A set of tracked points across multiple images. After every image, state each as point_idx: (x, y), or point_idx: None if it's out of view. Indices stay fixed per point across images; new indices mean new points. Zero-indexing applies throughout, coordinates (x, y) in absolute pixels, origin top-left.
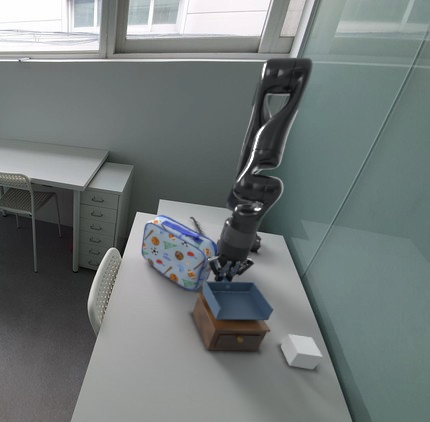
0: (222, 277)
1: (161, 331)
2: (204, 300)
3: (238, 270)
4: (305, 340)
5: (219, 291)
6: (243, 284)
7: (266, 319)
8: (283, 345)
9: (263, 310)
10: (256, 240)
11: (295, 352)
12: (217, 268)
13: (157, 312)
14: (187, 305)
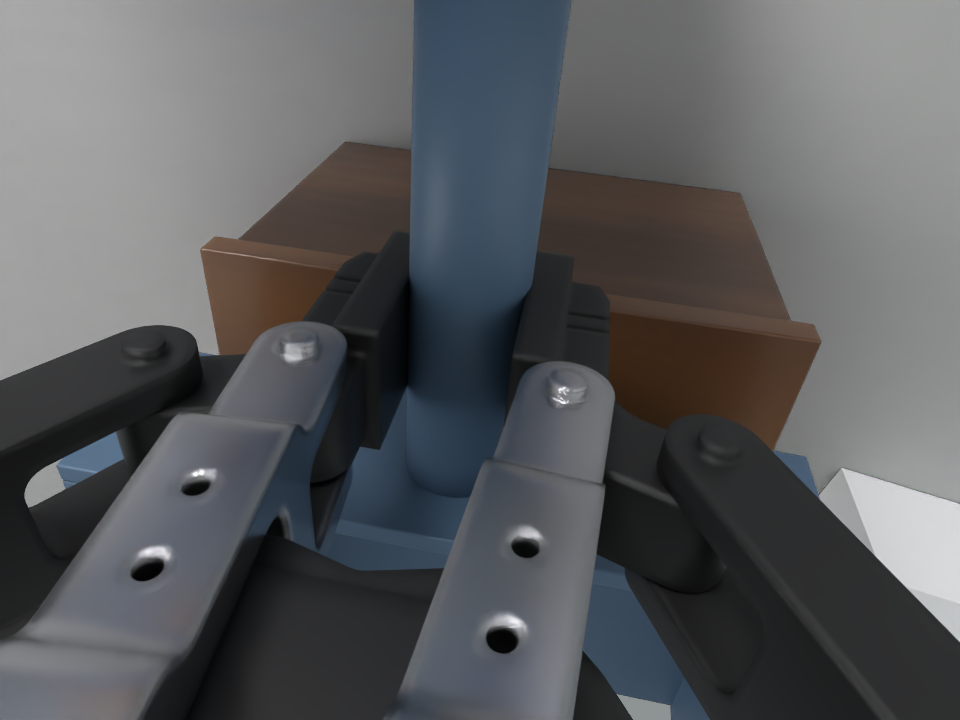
0: (371, 436)
1: (94, 259)
2: None
3: (676, 571)
4: (958, 631)
5: None
6: None
7: (666, 699)
8: (843, 502)
9: (691, 691)
10: None
11: None
12: (234, 395)
13: (58, 86)
14: (332, 28)
